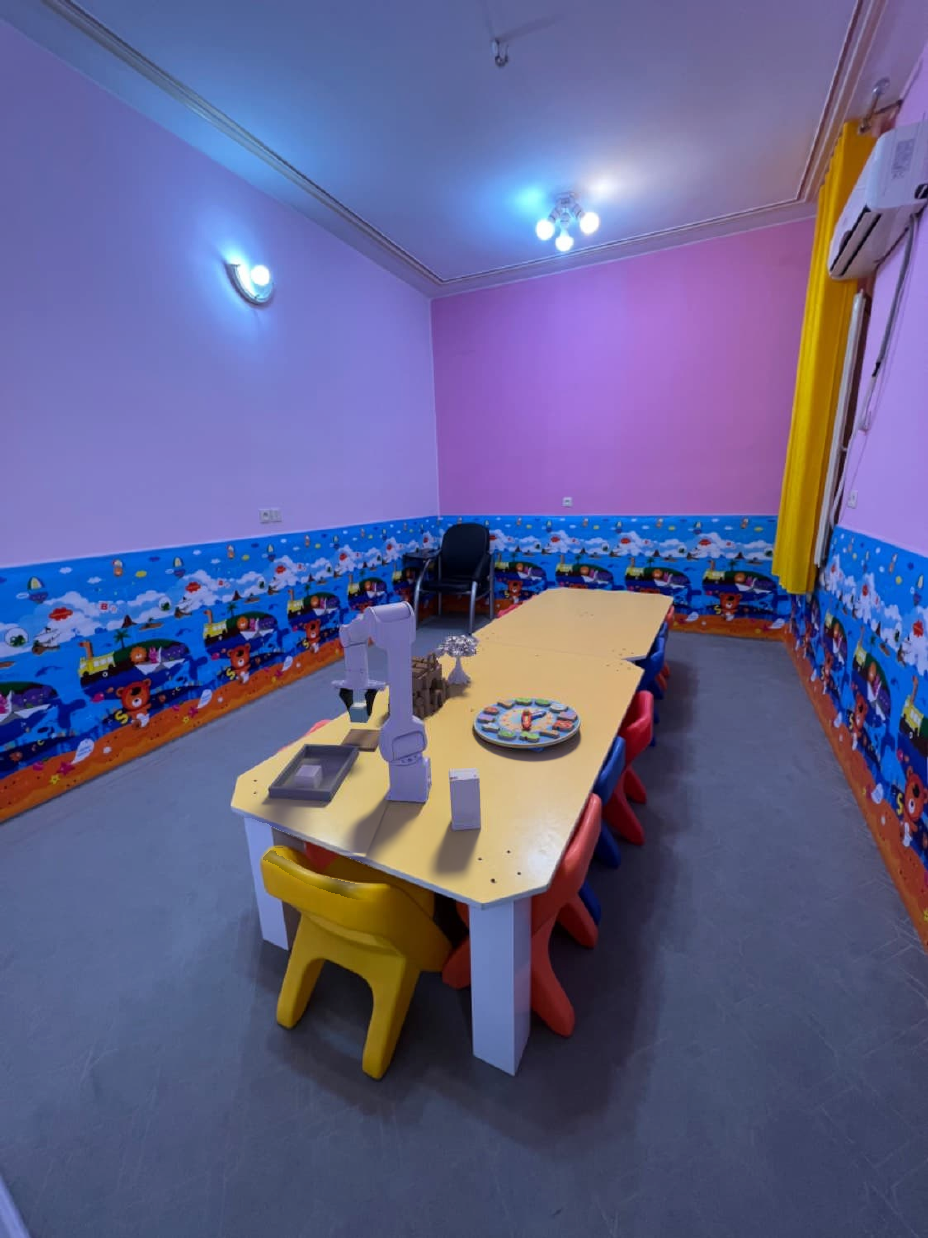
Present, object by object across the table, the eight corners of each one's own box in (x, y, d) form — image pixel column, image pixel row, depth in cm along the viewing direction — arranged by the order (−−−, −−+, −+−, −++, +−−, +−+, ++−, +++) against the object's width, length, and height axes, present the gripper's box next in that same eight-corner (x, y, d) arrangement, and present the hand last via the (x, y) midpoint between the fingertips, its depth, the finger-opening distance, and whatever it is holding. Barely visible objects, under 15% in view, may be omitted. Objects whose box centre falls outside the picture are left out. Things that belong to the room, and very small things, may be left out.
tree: (473, 669, 187) (472, 627, 182) (490, 684, 172) (489, 639, 168) (428, 676, 181) (426, 633, 176) (441, 692, 166) (440, 646, 162)
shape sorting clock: (507, 697, 162) (507, 680, 160) (596, 721, 145) (597, 702, 143) (452, 736, 138) (452, 716, 136) (551, 769, 121) (551, 748, 119)
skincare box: (478, 815, 104) (478, 765, 101) (481, 830, 100) (481, 778, 96) (450, 818, 103) (448, 768, 100) (451, 832, 99) (450, 780, 96)
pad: (385, 733, 139) (385, 730, 139) (375, 752, 129) (375, 748, 129) (351, 732, 140) (351, 728, 140) (339, 750, 130) (338, 746, 130)
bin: (359, 756, 128) (358, 746, 127) (331, 803, 109) (330, 791, 108) (306, 753, 129) (304, 743, 128) (269, 799, 111) (268, 788, 110)
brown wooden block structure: (418, 688, 170) (416, 637, 165) (455, 695, 164) (454, 642, 159) (382, 714, 151) (377, 658, 146) (422, 723, 145) (419, 665, 140)
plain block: (322, 780, 117) (321, 765, 115) (315, 791, 112) (313, 776, 111) (304, 779, 117) (303, 764, 116) (296, 790, 113) (294, 775, 112)
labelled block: (371, 715, 135) (370, 701, 134) (366, 723, 130) (365, 709, 129) (355, 714, 135) (354, 701, 134) (350, 722, 131) (349, 708, 130)
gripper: (387, 662, 132) (390, 708, 135) (336, 661, 133) (340, 706, 137) (380, 672, 125) (383, 720, 129) (326, 670, 127) (330, 718, 130)
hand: (360, 714), depth 132 cm, fingers closed on labelled block, 4 cm apart
